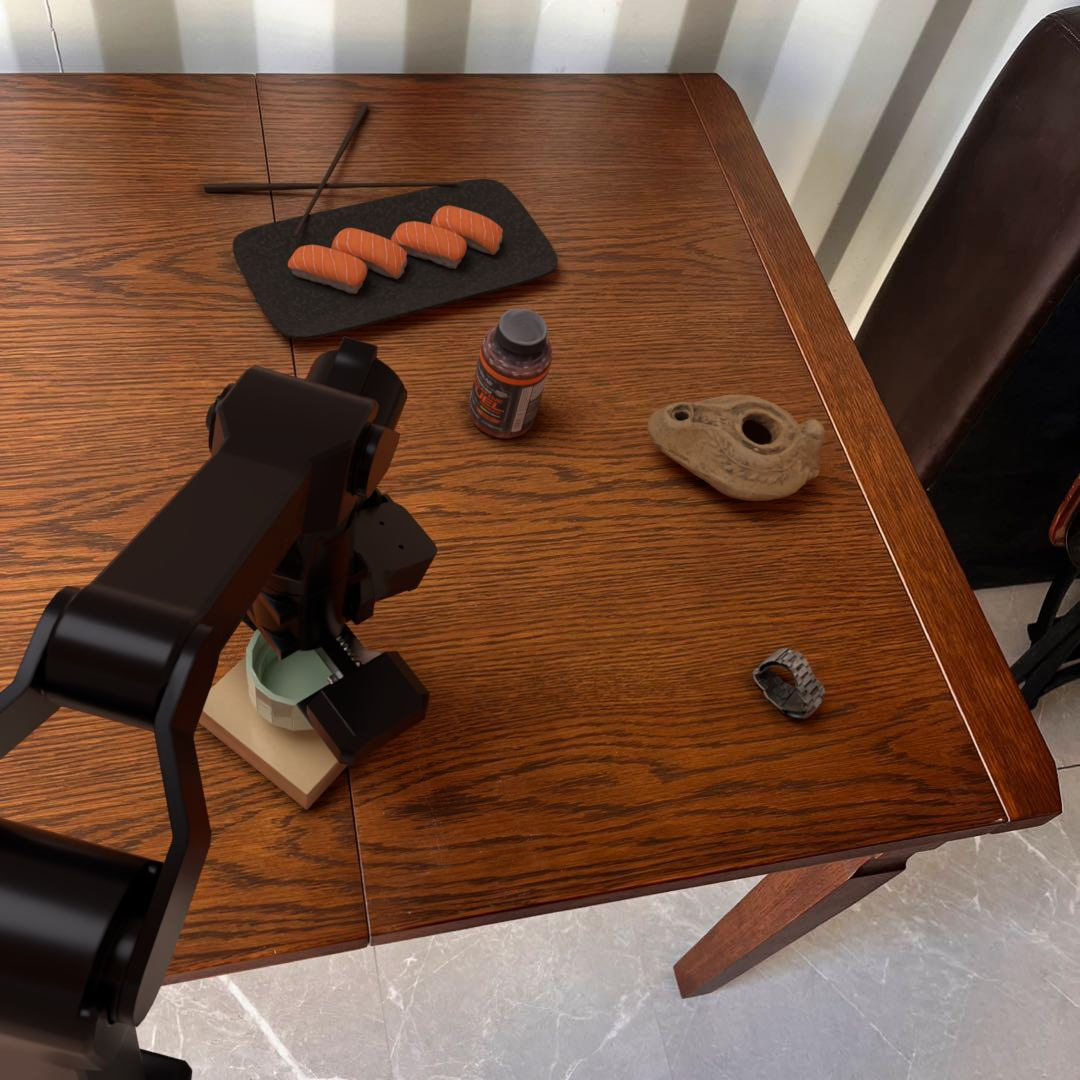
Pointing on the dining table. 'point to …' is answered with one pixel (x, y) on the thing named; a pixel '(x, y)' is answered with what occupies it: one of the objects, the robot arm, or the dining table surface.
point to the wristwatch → (784, 695)
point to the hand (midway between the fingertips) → (301, 676)
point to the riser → (269, 741)
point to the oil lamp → (740, 445)
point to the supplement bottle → (511, 374)
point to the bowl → (282, 682)
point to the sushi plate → (387, 252)
